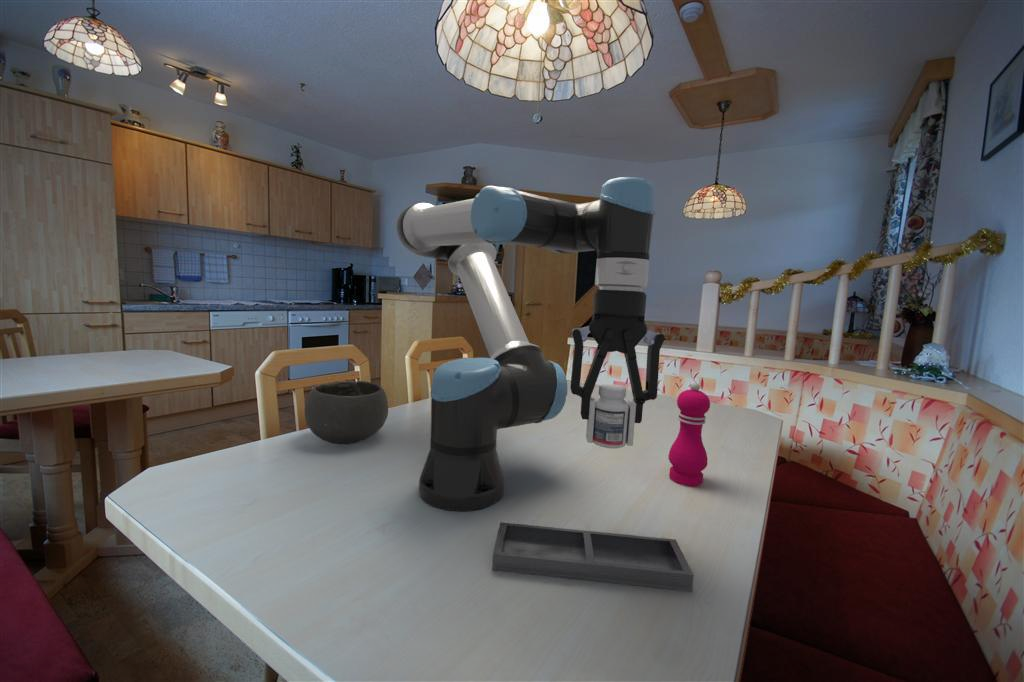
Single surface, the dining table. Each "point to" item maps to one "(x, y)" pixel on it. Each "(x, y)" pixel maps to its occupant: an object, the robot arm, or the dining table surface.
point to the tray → (591, 556)
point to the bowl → (346, 411)
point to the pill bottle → (611, 417)
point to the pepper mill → (689, 438)
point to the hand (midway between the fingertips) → (608, 440)
